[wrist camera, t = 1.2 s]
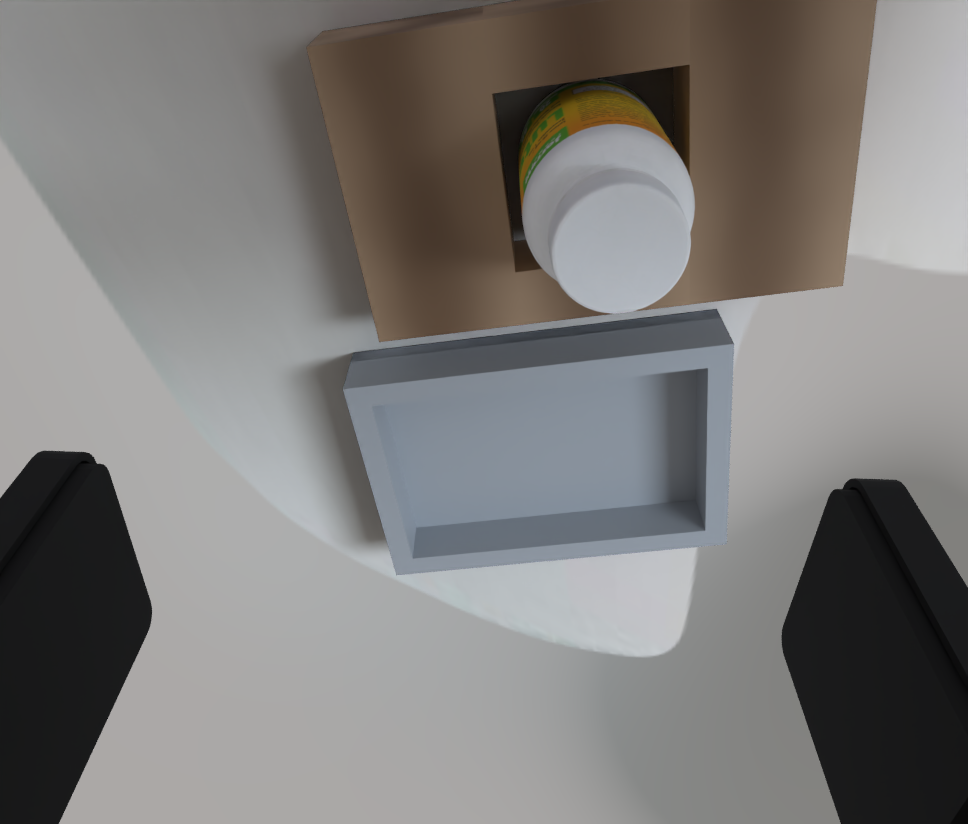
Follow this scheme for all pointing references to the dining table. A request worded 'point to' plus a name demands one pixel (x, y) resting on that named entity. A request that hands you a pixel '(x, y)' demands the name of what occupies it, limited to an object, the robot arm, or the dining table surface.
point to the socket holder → (574, 57)
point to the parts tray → (548, 442)
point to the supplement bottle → (604, 197)
